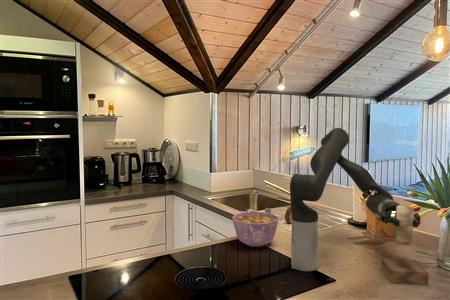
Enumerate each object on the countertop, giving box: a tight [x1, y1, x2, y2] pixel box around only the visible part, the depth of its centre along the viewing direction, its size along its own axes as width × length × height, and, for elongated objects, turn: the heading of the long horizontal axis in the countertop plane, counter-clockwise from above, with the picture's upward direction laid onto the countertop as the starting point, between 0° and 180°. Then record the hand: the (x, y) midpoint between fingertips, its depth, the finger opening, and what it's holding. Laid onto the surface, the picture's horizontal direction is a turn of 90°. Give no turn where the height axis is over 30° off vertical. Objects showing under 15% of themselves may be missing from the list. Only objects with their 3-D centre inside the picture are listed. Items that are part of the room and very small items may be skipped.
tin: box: [284, 206, 292, 224], centre depth 184 cm, size 15×3×8 cm, turn 141°
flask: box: [264, 207, 272, 214], centre depth 172 cm, size 7×7×10 cm
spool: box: [395, 204, 415, 246], centre depth 115 cm, size 5×5×12 cm
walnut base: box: [381, 257, 429, 286], centre depth 116 cm, size 11×11×4 cm
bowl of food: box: [231, 211, 280, 248], centre depth 150 cm, size 20×20×12 cm
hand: (407, 224), depth 112 cm, fingers closed on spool, 5 cm apart
